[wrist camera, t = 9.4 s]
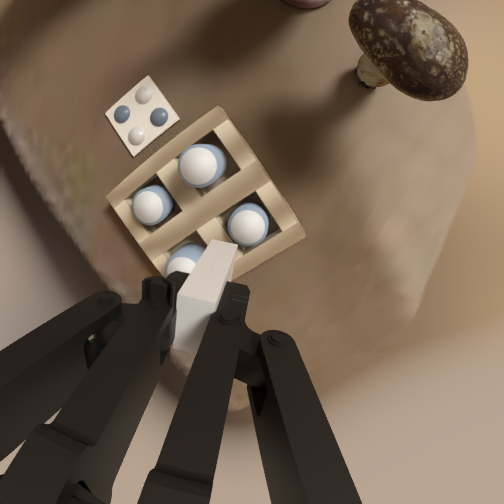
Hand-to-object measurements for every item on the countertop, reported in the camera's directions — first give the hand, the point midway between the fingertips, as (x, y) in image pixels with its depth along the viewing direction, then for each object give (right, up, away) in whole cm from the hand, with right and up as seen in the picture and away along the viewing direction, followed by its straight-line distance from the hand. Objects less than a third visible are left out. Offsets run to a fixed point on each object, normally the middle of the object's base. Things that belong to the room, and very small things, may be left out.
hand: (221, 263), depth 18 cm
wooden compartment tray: (-3, +6, +17) cm, 18 cm away
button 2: (-3, +10, +12) cm, 16 cm away
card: (-11, +16, +13) cm, 24 cm away
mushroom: (+15, +20, +10) cm, 27 cm away
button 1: (-9, +7, +16) cm, 20 cm away
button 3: (-5, 0, +16) cm, 17 cm away
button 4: (+2, +4, +16) cm, 17 cm away
